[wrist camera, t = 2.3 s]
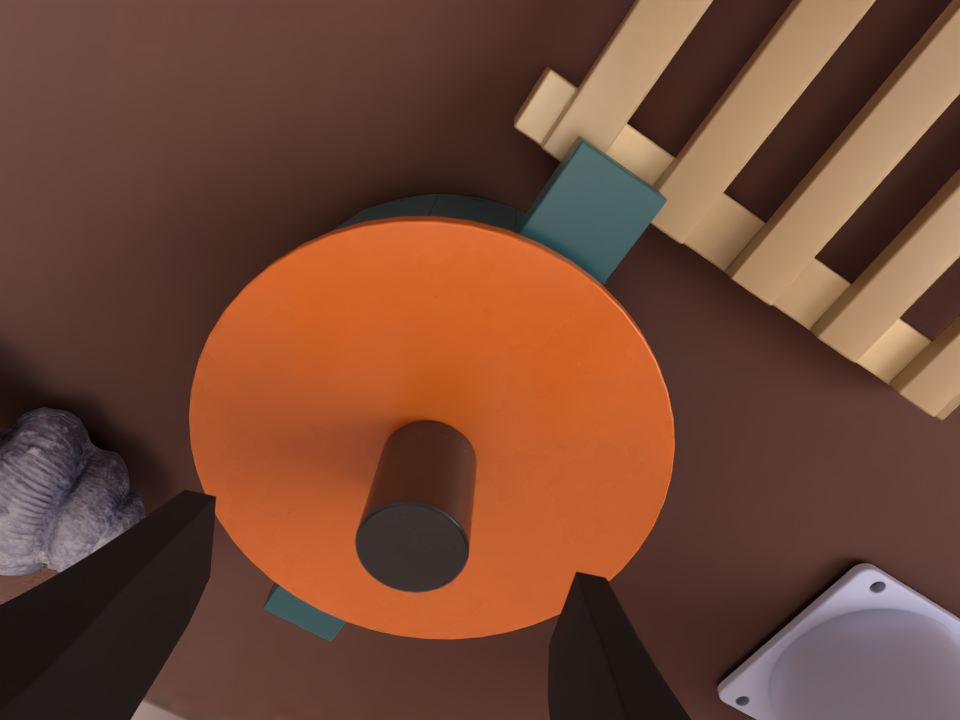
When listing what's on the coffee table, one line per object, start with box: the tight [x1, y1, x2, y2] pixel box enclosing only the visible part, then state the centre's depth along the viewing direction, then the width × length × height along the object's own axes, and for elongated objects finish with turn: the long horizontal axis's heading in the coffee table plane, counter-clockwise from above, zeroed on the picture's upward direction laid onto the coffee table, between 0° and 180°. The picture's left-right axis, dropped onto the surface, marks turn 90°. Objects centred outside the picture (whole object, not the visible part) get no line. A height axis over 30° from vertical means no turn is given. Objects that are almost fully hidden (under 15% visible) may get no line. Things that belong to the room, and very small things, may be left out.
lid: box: [189, 216, 675, 639], centre depth 17 cm, size 12×12×4 cm
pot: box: [263, 136, 667, 641], centre depth 20 cm, size 11×17×5 cm
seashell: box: [0, 407, 146, 575], centre depth 22 cm, size 5×5×10 cm
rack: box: [514, 0, 960, 420], centre depth 17 cm, size 15×13×3 cm
